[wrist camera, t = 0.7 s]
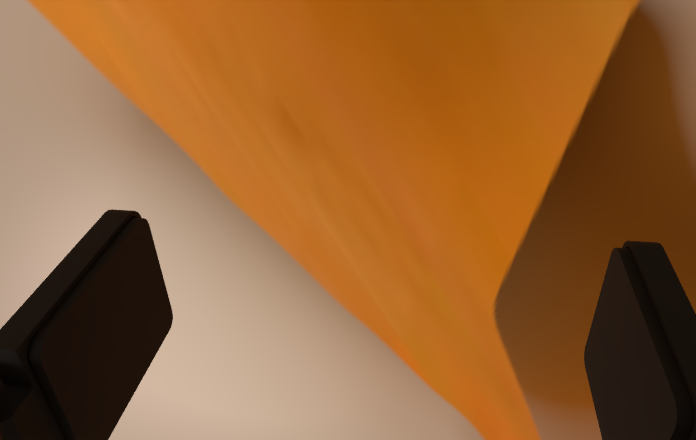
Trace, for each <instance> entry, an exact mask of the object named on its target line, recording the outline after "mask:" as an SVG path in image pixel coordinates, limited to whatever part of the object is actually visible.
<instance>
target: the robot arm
mask: <svg viewBox="0 0 696 440" xmlns="http://www.w3.org/2000/svg"><path fill="white" fill-rule="evenodd" d="M172 320H173V314H172V309H171V305H170V301H169V298H168V294H167V291H166V286H165V283H164V279H163V275H162V271H161V268H160V264H159V260H158V257H157V253H156V249H155V245H154V241H153V238H152V234H151V230H150V227H149V224H148V221H147V220H146V219H144V218H141V216H140V214H139V213H138V212H136V211H126V210H125V211H124V210H108V211H107V212H105V213H104V214H103V215H102V217H101V218H100V219H99V220H98V221H97V222H96V223H95V225H93V227H92V228H91V229H90V230H89V231H88V232H87V233H86V235H85V236H84V237H83V238H82V239H81V240H80V241H79V242H78V243H77V244H76V246H75V247H74V248H73V249H72V250H71V251H70V253H69V254H68V255H67V256H66V257H65V258H64V259H63V260H62V261H61V262H60V263H59V265H58V266H57V267H56V268H55V269H54V270H53V271H52V272H51V274H50V275H49V276H48V277H47V278H46V279H45V280H44V281H43V282H42V284H41V285H40V286H39V287H38V288H37V289H36V290H35V291H34V293H33V294H32V295H31V296H30V297H29V298H28V299H27V300H26V302H25V303H24V304H23V305H22V306H21V307H20V308H19V309H18V310H17V312H16V313H15V314H14V315H13V316H12V317H11V318H10V319H9V320H8V322H7V323H6V324H5V325H4V326H3V327H2V328H1V329H0V440H108V439H109V437H110V435H111V433H112V431H113V430H114V428H115V426H116V425H117V423H118V421H119V419H120V417H121V416H122V414H123V412H124V410H125V408H126V407H127V405H128V403H129V401H130V400H131V398H132V396H133V394H134V392H135V391H136V389H137V387H138V385H139V384H140V382H141V380H142V378H143V376H144V375H145V373H146V371H147V369H148V367H149V366H150V364H151V362H152V360H153V359H154V357H155V355H156V353H157V351H158V350H159V348H160V346H161V344H162V342H163V341H164V339H165V337H166V335H167V334H168V332H169V330H170V328H171V325H172ZM584 361H585V368H586V373H587V376H588V381H589V385H590V389H591V393H592V398H593V402H594V406H595V410H596V415H597V419H598V422H599V427H600V431H601V435H602V440H696V314H695V312H694V310H693V308H692V306H691V304H690V302H689V300H688V298H687V296H686V294H685V291H684V289H683V288H682V285H681V283H680V281H679V279H678V277H677V275H676V273H675V271H674V269H673V267H672V265H671V263H670V261H669V259H668V257H667V254H666V253H665V251H664V248H663V247H662V245H661V244H660V243H655V242H639V241H626V242H625V243H624V245H623V247H622V248H614V249H613V251H612V253H611V257H610V260H609V264H608V267H607V271H606V275H605V278H604V282H603V285H602V289H601V293H600V296H599V300H598V303H597V307H596V311H595V314H594V318H593V322H592V325H591V329H590V332H589V336H588V340H587V343H586V347H585V354H584Z"/></svg>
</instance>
